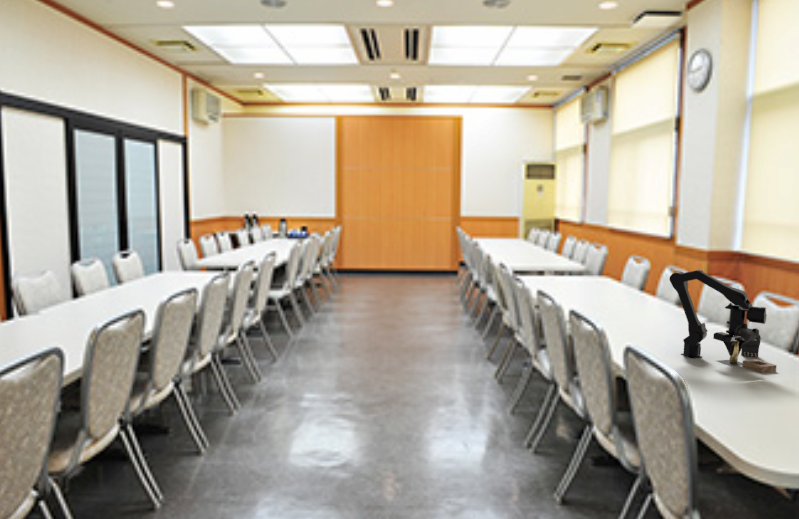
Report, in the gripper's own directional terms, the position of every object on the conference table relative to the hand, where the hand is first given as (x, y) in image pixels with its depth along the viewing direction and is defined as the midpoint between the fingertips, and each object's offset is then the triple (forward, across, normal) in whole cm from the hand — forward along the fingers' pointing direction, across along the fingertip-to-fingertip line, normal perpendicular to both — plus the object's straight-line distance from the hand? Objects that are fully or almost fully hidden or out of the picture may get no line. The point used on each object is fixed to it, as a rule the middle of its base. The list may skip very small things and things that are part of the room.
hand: (733, 355), depth 246 cm
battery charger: (+4, +17, +7) cm, 19 cm away
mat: (+4, 0, +1) cm, 4 cm away
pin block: (+4, +4, -9) cm, 11 cm away
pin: (+4, 0, 0) cm, 4 cm away
